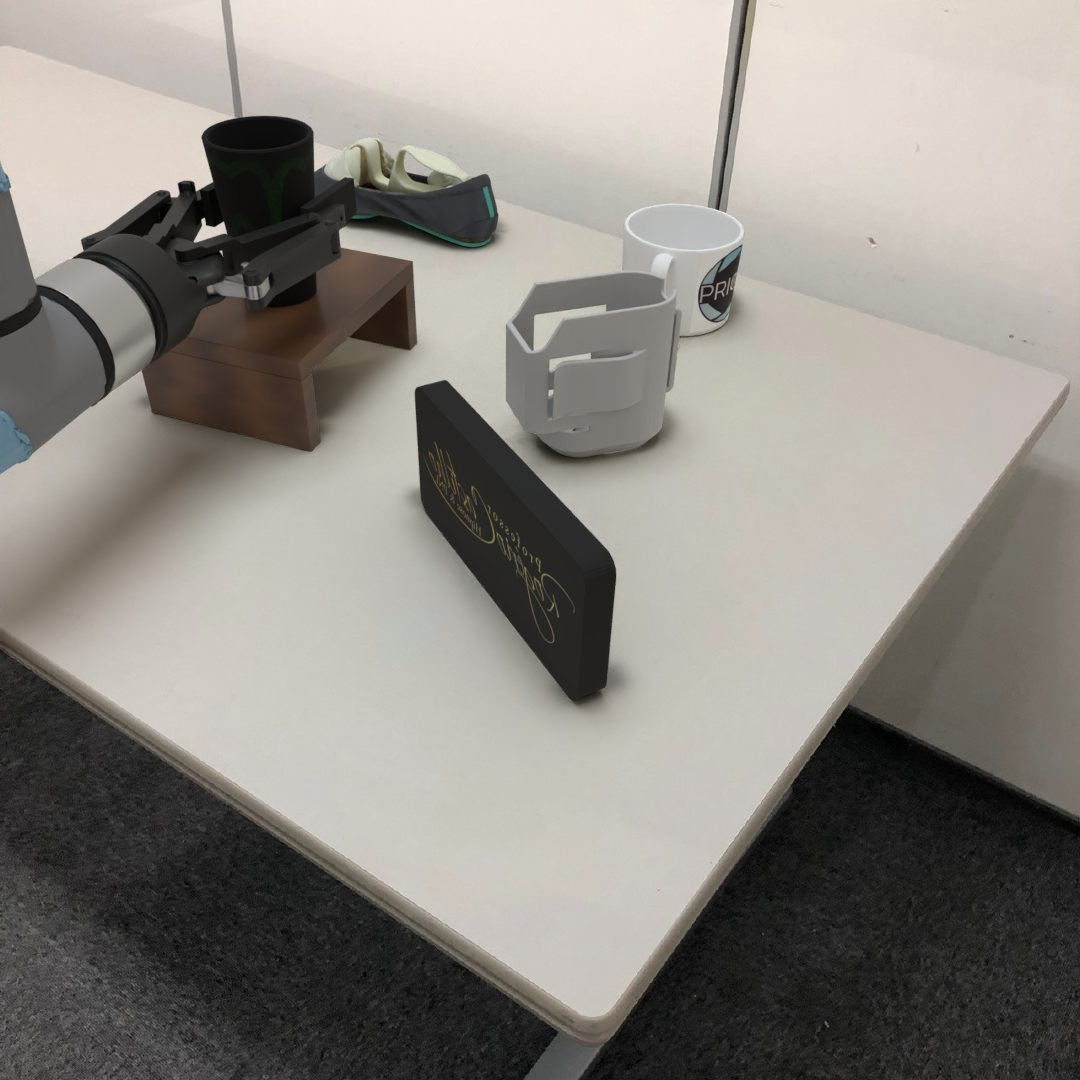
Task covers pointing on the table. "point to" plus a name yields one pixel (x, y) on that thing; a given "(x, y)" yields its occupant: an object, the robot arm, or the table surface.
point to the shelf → (281, 351)
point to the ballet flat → (415, 191)
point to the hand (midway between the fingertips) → (302, 187)
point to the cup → (263, 179)
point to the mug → (687, 258)
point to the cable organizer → (595, 362)
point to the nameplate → (517, 539)
